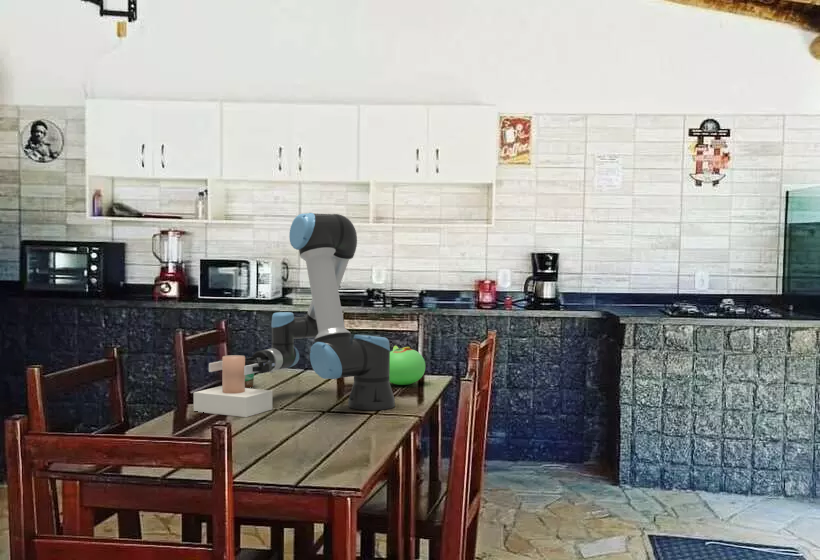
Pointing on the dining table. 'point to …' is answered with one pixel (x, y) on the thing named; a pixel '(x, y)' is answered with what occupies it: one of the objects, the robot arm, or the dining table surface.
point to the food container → (249, 380)
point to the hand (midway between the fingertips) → (227, 369)
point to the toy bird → (405, 366)
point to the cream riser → (233, 402)
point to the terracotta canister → (233, 374)
